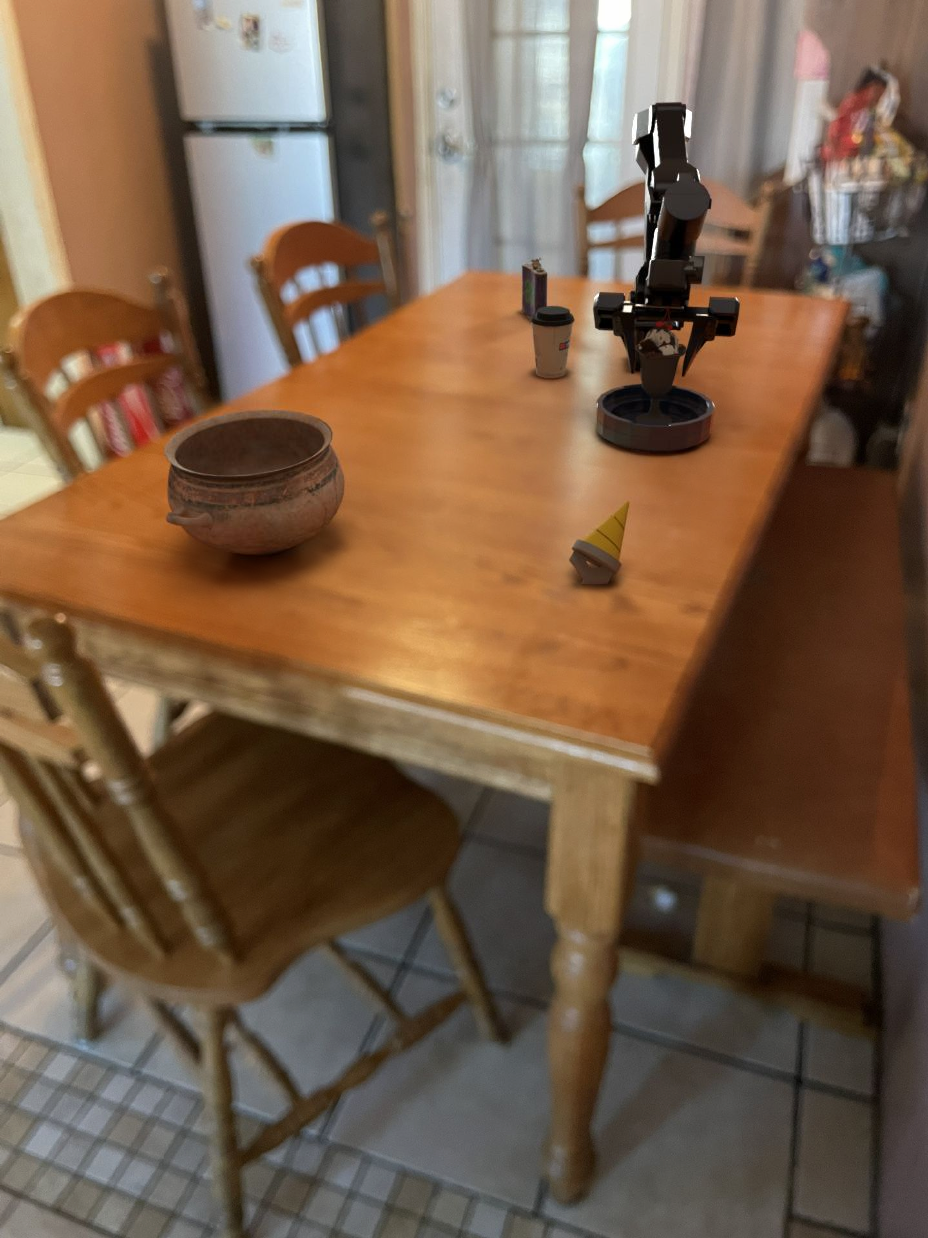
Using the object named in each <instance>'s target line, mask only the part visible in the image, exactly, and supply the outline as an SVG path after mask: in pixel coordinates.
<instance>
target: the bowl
mask: <svg viewBox="0 0 928 1238" xmlns="http://www.w3.org/2000/svg"><path fill="white" fill-rule="evenodd" d="M650 406H651V396H650V395H649V394H647V393H646V392H645V390H644V389H643V388H642V383H636V384H635V383H633V384H628V385H626V384H625V385H622V386H618V387H614V388H611V389H609V390H607V391H605V392H603V393H601V394H600V395H599V397H598V398H597V399H596V406H595V420H594V421H595V431H596V432H597V433H598V434H599V435H600V436H601V437H602V438H603V439H605V440H607V441H609V442H610V443H612V444H613V445H615V446H618V447H620V448H623V449H627V450H631V451H635V452H642V453H651V454H652V453H653V454H657V453H659V454H660V453H661V454H662V453H664V454H665V453H673V452H680V451H685V450H688V449H690V448H692V447H695V446H698V445H700V444H701V443H703V442H705V441H706V440H707V439H709V438H710V436H711V434H712V432H713V426H714V417H715V411H716V407H715V404H714V402H713V400H712V399H711V398H709V397H708V396H707V395H705V394H704V393H701V392H700V391H697V390H694V389H693V388H687V387H683V386H679V385H675V384H673V385H672V388H671V390H670V391H669V392H668V393H666V394H665V395H663V396H662V397H661V398H660V403H659V410H660V413H661V414H665V415H667V416H669V417H670V418H671V419H672V423H671V424H650V423H642V422H636V420H635V419H636V417H637V416H638V415H640V414H644V413H648V411H649V409H650Z"/></svg>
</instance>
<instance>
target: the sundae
mask: <svg viewBox="0 0 928 1238" xmlns="http://www.w3.org/2000/svg"><path fill="white" fill-rule="evenodd" d="M666 308H667V310H668V321H669V324H668V323H667V324H664V322H662V321H663V320H664V318H665V317H666V315H667V312H666V315H665V317H664V318H663V319H662V320H661V321H657V322H656V325H655V327H654V328H652V329H651V330H650V331H649V332H648V333H647V335H646V338H645V339H644V340H643V341H640V344H638V345H637V346H635V349H636V350H637V352H639V354H640V368H641V371H640V380H641V381H640V382H641V384H642V388H643V389H644V390H645V392H646V393H647V394H649V395H650V396H651V406H650V409H649V411H648V413H644V414H640V415H638V416H637V417H636V419H635V420H636V422H642V423H650V424H671V423H672V419H671V418H670V417H669V416H667V415H665V414H661V413H660V410H659V403H660V398H661V397H662V396H663V395H665V394H666V393H668V392H669V391H670V390H671V388H672V385H674V381H675V378H676V373H677V369H678V366H679V361H680V359H681V357H684V356H685V353H686V350H687V346H686V345H685V344H683V343H679V339H678V337H677V335H676V334H675V333H674V332H672V331H673V330H672V329H673V327H672V325H671V324H670V316H669V309H670V308H671V307H670V306H667V307H666Z"/></svg>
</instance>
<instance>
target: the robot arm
mask: <svg viewBox="0 0 928 1238" xmlns="http://www.w3.org/2000/svg"><path fill="white" fill-rule="evenodd" d="M692 114H693V113H692V111H690V110H689V109H687V104H686V103H682V101H675V102H674V101H670V102H669V101H668V102H667V101H666V102H664V101H663V102H655V103H654V104H651V105H650V107H649V108H647V109H644V110H642V111H639V112H637V113H636V114H635V115H634V118H633V121H632V131H631V145H632V146H635V162H636V164H637V165H638V166H639V167H640V170H641V171H642V173H643V174H644V176H645V177H644V179H645V180H644V181H645V182H644V186H645V187H644V218H643V219H644V222H643V224H644V225H643V264H642V266H640V269H639V270H638V272H637V274H636V275H635V278H634V282H633V285H632V290H629V292H628V298H626V292H612V291H600V292H598V293H597V294H596V295H595V297H594V299H593V300H594V301H593V307H592V312H593V321H594V329H596V330H598V331H606V332H607V331H609V332H612V334H613V335H614V336H615V337H620V338H621V341H622V344H623V347H624V349H625V352H626V356H627V359H628V360H627V361H628V366H629V371H630V374H632V375H633V374H635V372H641V368H640V354H639V352H637V350H636V349H635V346H637V345H638V344H640V341H643V340H644V339H645V338H646V335H647V333H648V332H649V331H650V330H651V329H652V328H654V327H655V325H656V322H657V321H661V320H662V319H663V318H664V317H665V315H666V312H667V315H666V317H665V318H664V320H663V321H662V322H664V324H667V323H668V324H669V321H668V310H667V308H666V307H667V306H670V307H671V308H670V309H669V316H670V324H671V325H672V327H673V329H672V330H671V331H677V332H680V331H682V329H683V328H684V327H685V323H692V326H691V330H690V336H689V339H688V343H687V346H686V353H685V354H684V356H683V361H682V367H681V369H682V370H681V377H682V378H684V377H686V376H687V373H688V371H689V369H690V368H691V366H692V364H693V363H694V360H695V358H696V357H697V355H698V353H699V352H700V351H701V350H702V348H703V347H704V346H705V344H706V343H707V342H713V341H715V339H716V337H724V338H731V337H734V336H736V332H737V327H738V322H739V316H740V309H741V308H740V307H741V302H740V300H739V299H738V298H737V297H731V296H730V297H728V296H727V297H726V296H709V299H708V306H690V305H689V304H690V298H691V297H690V296H691V289H692V288H691V287H692V285H702V284H703V275H704V269H705V260H706V255H696V249H697V243H698V242H697V241H698V240H699V238H700V236H701V233H702V230H703V227H704V224H705V221H706V217H707V214H708V211H709V210H711V209H712V202H713V199H712V197H711V194H710V193H709V190H708V189H707V187H706V186H705V185H703V184H702V183H701V177H700V173H699V170H698V168H696V167H695V166H693V165H692V164H691V163H689V159H688V149H687V144H688V142H689V141H690V139H691V133H692V131H691V130H692V116H693V115H692ZM626 299H627V300H626Z"/></svg>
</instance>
